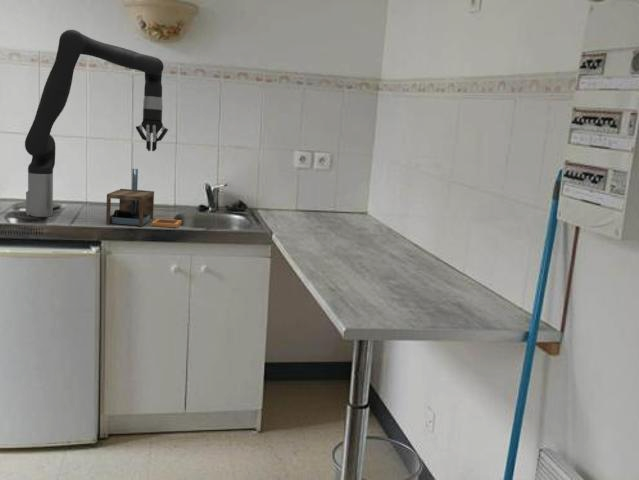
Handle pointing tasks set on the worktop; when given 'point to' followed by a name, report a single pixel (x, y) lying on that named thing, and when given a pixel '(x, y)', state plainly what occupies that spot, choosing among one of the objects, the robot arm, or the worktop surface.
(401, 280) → the worktop surface
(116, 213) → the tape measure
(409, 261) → the worktop surface
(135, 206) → the stand with upright post
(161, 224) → the tray
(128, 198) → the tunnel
